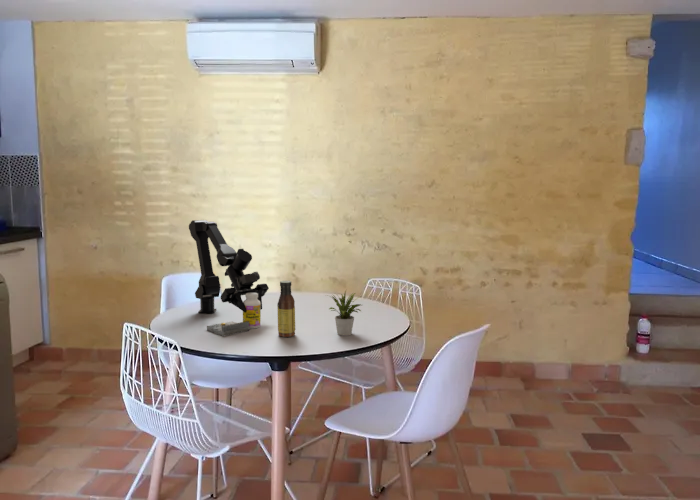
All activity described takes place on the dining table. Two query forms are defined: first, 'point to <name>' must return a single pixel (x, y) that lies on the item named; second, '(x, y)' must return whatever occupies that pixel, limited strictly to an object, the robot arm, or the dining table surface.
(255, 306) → the supplement bottle
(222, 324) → the coupler plate
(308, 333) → the dining table surface
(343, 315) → the house plant
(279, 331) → the sauce bottle
